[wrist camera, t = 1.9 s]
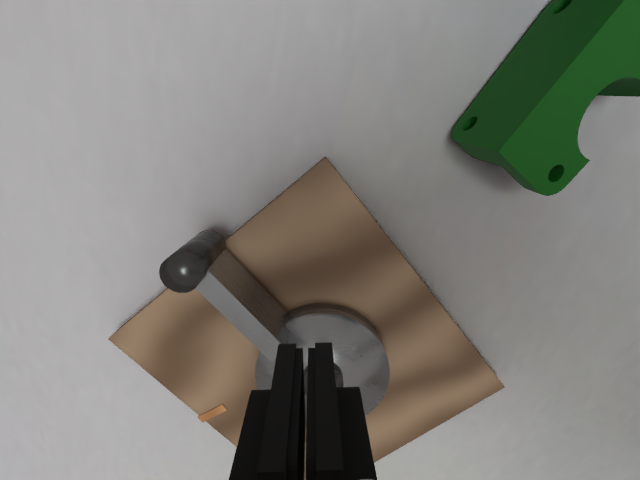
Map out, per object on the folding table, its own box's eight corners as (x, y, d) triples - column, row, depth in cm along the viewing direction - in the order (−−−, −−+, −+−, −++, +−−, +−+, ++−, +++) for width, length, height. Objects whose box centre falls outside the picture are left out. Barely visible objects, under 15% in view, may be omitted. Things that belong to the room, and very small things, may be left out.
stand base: (495, 374, 28) (532, 424, 23) (302, 487, 32) (299, 550, 27) (325, 156, 22) (327, 161, 17) (117, 329, 26) (72, 372, 22)
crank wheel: (408, 366, 26) (431, 422, 21) (313, 426, 27) (312, 491, 22) (252, 187, 21) (232, 202, 16) (151, 273, 23) (104, 311, 18)
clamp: (480, 152, 26) (523, 219, 20) (437, 111, 24) (471, 172, 18) (640, 25, 20) (773, 68, 14) (601, -47, 18) (740, -34, 12)
